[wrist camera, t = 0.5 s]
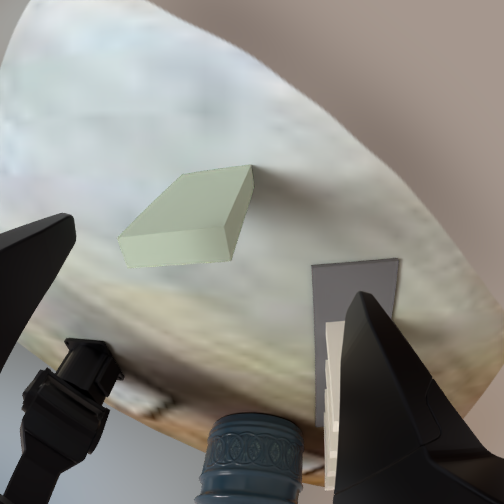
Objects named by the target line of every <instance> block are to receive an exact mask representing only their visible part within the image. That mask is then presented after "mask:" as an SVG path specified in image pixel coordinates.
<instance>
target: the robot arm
mask: <svg viewBox="0 0 504 504" xmlns="http://www.w3.org/2000/svg"><path fill="white" fill-rule="evenodd" d="M75 242H76V230H75V223H74V218H73V216H72V215H70V214H66V213H59V214H56V215H53V216H50V217H47V218H44V219H41V220H38V221H35V222H32V223H29V224H26V225H23V226H21V227H18V228H15V229H12V230H9V231H7V232H4V233H1V234H0V373H1V371H2V368H3V367H4V365H5V363H6V361H7V359H8V357H9V355H10V353H11V351H12V349H13V348H14V346H15V344H16V342H17V340H18V338H19V337H20V335H21V333H22V331H23V330H24V328H25V326H26V325H27V323H28V321H29V319H30V318H31V316H32V314H33V313H34V311H35V309H36V308H37V306H38V305H39V303H40V301H41V300H42V298H43V297H44V295H45V294H46V292H47V290H48V289H49V287H50V286H51V284H52V283H53V281H54V280H55V278H56V276H57V274H58V273H59V271H60V269H61V267H62V265H63V264H64V262H65V260H66V258H67V256H68V255H69V253H70V251H71V249H72V248H73V246H74V244H75ZM64 342H65V344H66V346H67V347H68V349H69V352H68V354H67V355H66V357H65V359H64V360H63V362H62V363H61V365H60V366H59V368H58V370H57V371H56V373H55V374H54V373H53V372H51V370H50V369H49V368H46V370H40V371H39V372H38V374H37V375H36V377H35V378H34V380H33V381H32V382H31V383H30V385H29V386H28V387H27V388H26V389H25V391H24V392H23V395H22V396H23V400H24V401H23V406H22V410H23V411H24V412H25V415H24V417H23V419H22V423H21V427H20V437H21V447H22V456H21V458H20V460H19V462H18V464H17V466H16V468H15V470H14V472H13V475H12V477H11V479H10V481H9V483H8V486H7V488H6V490H5V493H4V495H1V494H0V504H48V502H49V500H50V497H51V495H52V492H53V490H54V487H55V485H56V482H57V480H58V478H59V476H60V474H61V473H62V472H64V471H66V470H68V469H70V468H71V467H73V466H75V465H77V464H78V463H80V462H82V461H83V460H84V459H85V457H86V455H87V453H88V454H91V453H92V452H93V451H94V450H95V448H96V446H97V444H98V442H99V440H100V438H101V435H102V433H103V430H104V427H105V424H106V421H107V418H108V415H109V412H110V410H109V409H108V408H105V407H103V406H102V404H103V402H104V400H105V398H106V397H108V396H109V395H110V393H111V390H112V388H113V386H114V384H115V382H116V380H124V375H123V373H122V372H121V370H120V368H119V367H118V365H117V363H116V362H115V360H114V358H113V357H112V355H111V353H110V351H109V350H108V348H107V346H106V344H105V343H104V342H101V341H91V340H80V339H69V338H66V339H65V341H64ZM334 494H335V495H334V497H333V504H504V459H503V458H501V457H498V456H496V455H494V454H492V453H491V452H489V451H488V450H487V449H486V448H485V447H484V446H483V445H482V444H481V443H480V441H479V440H478V439H477V437H476V436H475V435H474V434H473V432H472V431H471V430H470V428H469V427H468V425H467V424H466V423H465V421H464V420H463V419H462V418H461V416H460V415H459V414H458V412H457V411H456V410H455V408H454V407H453V406H452V404H451V403H450V402H449V400H448V399H447V397H446V396H445V394H444V393H443V392H442V390H441V389H440V387H439V386H438V384H437V383H436V381H435V380H434V379H432V376H431V374H430V373H429V371H428V370H427V368H426V367H425V365H424V364H423V363H422V361H421V360H420V358H419V357H418V355H417V354H416V353H415V351H414V350H413V348H412V347H411V346H410V344H409V343H408V341H407V340H406V339H405V337H404V336H403V334H402V333H401V332H400V330H399V329H398V328H397V326H396V325H395V324H394V322H393V321H392V320H391V318H390V317H389V315H388V314H387V313H386V311H385V310H384V309H383V308H382V306H381V305H380V304H379V302H378V301H377V300H376V298H375V297H374V296H373V295H372V294H371V293H368V292H364V291H358V292H357V293H356V295H355V297H354V298H353V300H352V302H351V304H350V306H349V308H348V310H347V312H346V316H345V325H344V335H343V344H342V352H341V362H340V409H339V433H338V450H337V465H336V477H335V488H334Z"/></svg>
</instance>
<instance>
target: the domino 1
mask: <svg viewBox="0 0 504 504" xmlns="http://www.w3.org/2000/svg"><path fill="white" fill-rule="evenodd" d="M254 187H255V186H254V180H253V174H252V167H251V165H244V166H236V167H229V168H221V169H214V170H207V171H200V172H194V173H188V174H182V175H181V176H180V177H179V178H178V179H177V180H176V181H174V182H173V183H172V184H171V185H170V186H169V187H168V188H167V189H166V190H165V191H164V192H163V193H162V194H161V195H160V196H159V197H157V198H156V199H155V200H154V201H153V202H152V203H151V204H150V205H149V206H148V207H147V208H146V209H145V210H144V211H143V212H142V213H141V214H140V215H139V216H138V217H137V218H136V219H135V220H134V221H133V222H132V223H131V224H130V225H129V226H128V227H127V228H126V229H125V230H124V231H123V232H122V233H121V234H120V235H119V237H118V238H117V240H118V242H119V245H120V248H121V251H122V254H123V257H124V259H125V262H126V265H127V267H128V268H142V267H157V266H171V265H185V264H199V263H213V262H227V261H231V260H232V257H233V253H234V250H235V247H236V244H237V241H238V237H239V234H240V231H241V228H242V225H243V221H244V218H245V215H246V212H247V209H248V206H249V202H250V199H251V196H252V193H253V190H254Z"/></svg>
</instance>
